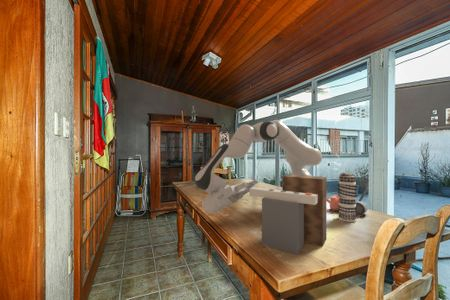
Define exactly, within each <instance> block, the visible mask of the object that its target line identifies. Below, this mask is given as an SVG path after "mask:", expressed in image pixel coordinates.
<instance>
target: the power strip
mask: <svg viewBox="0 0 450 300" xmlns="http://www.w3.org/2000/svg"><path fill="white" fill-rule="evenodd" d="M248 193H249V194H248V195H249V196H250V197H254V198H255V197H256V198H257V197H258V198H261V199H262V198H269V199H276V200H283V201H290V202H297V203H304V204H311V205H316V204H317V203H318V195H317V194H313V193H300V192H291V191H283V190H282V189H272V188H264V187H262V188H261V187H256V186H255V187H253V188H250V189H249V192H248Z"/></svg>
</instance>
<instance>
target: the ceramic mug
mask: <svg viewBox="0 0 450 300" xmlns="http://www.w3.org/2000/svg"><path fill="white" fill-rule="evenodd" d="M355 204H356V208H357V209H355V210H356V212H355V213H356V214H357V215H356V217H362V216H363V215H365V214H366V213H367V212H368V206H367V204H366V203H365V202H363V201H359V200H358V201H355Z"/></svg>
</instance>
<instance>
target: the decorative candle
mask: <svg viewBox="0 0 450 300" xmlns="http://www.w3.org/2000/svg"><path fill="white" fill-rule="evenodd" d="M356 184H357V183H356V175H355V174H354V173H352V172H341V173H340V174H339V175H338V184H337V186H338V187H337V193H338V194H337V195H338V197H339V206H338V207H339V208H338V209H339V210H340V211H339V210H337V212H338V217H337V219H338V220H340V221H343V222H348V223H355V222H357V217H358V216H356V215H357V214H356V213H355V212H356V210H355V209H357V208H356V204H355V202H356V199H357V197H358V196H357V193H358V192H356V191H358V189H357V187H358V186H357V185H356Z"/></svg>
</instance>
